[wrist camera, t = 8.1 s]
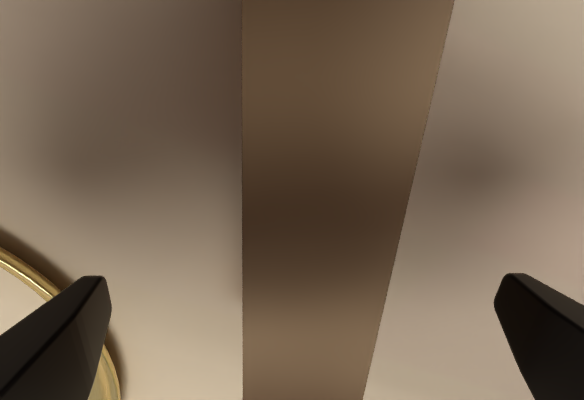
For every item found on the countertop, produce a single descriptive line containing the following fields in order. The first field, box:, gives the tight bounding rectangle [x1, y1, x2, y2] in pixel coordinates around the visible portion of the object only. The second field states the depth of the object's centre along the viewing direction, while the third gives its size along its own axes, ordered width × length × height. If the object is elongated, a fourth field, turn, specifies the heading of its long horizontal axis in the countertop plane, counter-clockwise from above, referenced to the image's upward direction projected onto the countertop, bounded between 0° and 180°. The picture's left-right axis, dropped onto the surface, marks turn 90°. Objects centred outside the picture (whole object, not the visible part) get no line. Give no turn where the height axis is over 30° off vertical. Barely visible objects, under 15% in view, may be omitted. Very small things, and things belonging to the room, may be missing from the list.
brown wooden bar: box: [242, 0, 454, 400], centre depth 10 cm, size 16×4×6 cm, turn 177°
